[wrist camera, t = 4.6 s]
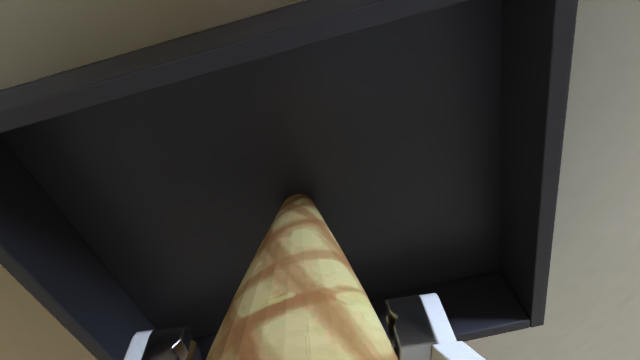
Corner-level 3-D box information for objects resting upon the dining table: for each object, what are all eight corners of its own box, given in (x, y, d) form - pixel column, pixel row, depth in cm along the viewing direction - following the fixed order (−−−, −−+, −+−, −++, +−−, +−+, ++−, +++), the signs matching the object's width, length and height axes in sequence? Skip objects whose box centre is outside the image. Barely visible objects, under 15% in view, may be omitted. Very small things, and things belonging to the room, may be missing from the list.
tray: (516, -62, 12) (585, -60, 9) (508, 270, 20) (543, 325, 17) (-38, 101, 13) (-123, 145, 11) (165, 348, 22) (147, 409, 19)
